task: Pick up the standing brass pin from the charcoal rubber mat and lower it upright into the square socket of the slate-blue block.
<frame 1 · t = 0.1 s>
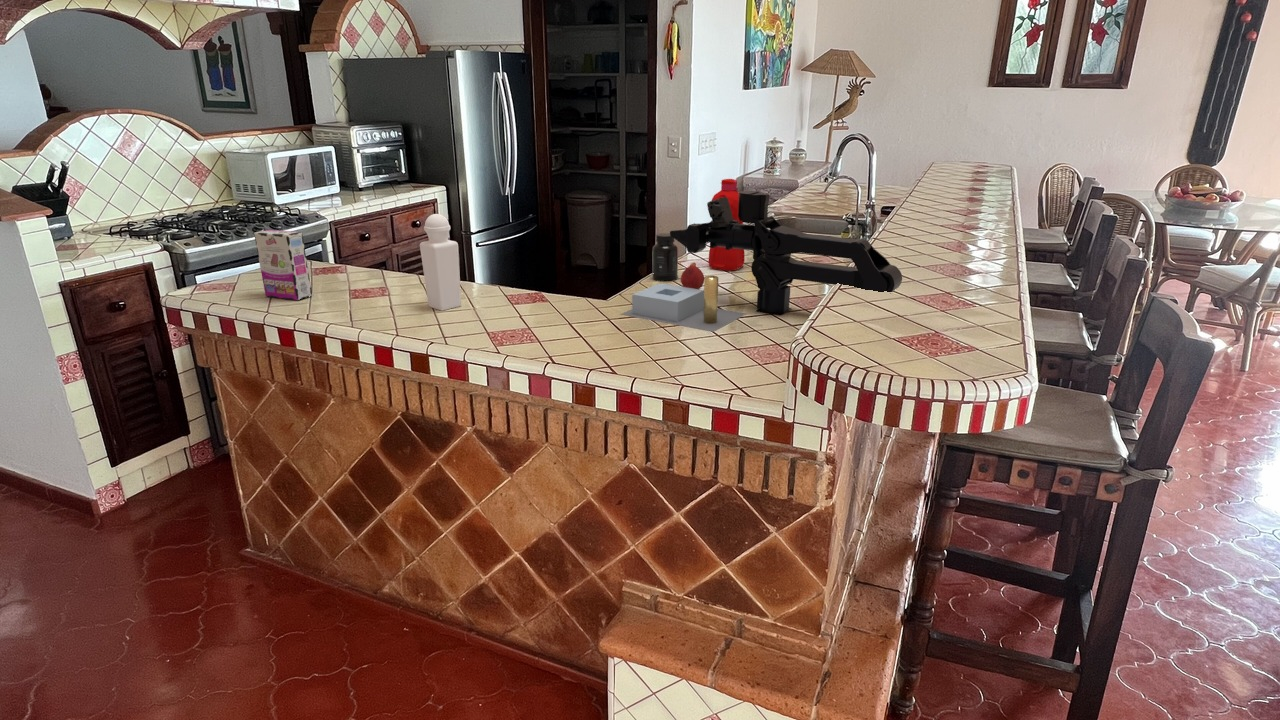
hand: (680, 230, 179), 17 cm above the countertop, tool horizontal, fingers open, 9 cm apart
candy bar box: (289, 297, 187), on the countertop
onion: (692, 294, 187), on the countertop
square decanter bottle: (445, 307, 178), on the countertop
brass pin: (710, 321, 163), on the countertop, touching rubber mat
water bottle: (728, 268, 213), on the countertop
rubber mat: (683, 315, 169), on the countertop
supplement bottle: (664, 279, 202), on the countertop
socket block: (668, 311, 171), on the countertop
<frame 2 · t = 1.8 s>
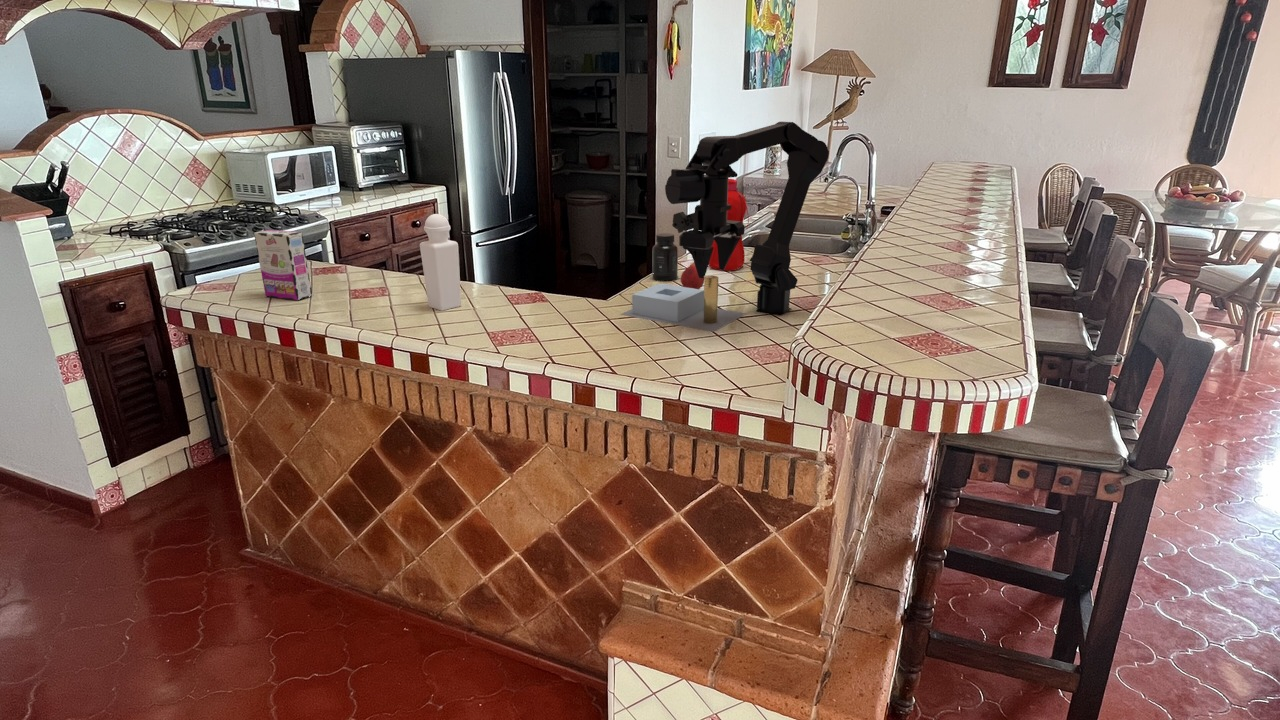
hand: (711, 273, 160), 11 cm above the countertop, tool pointing down, fingers open, 9 cm apart
nothing on the countertop moved.
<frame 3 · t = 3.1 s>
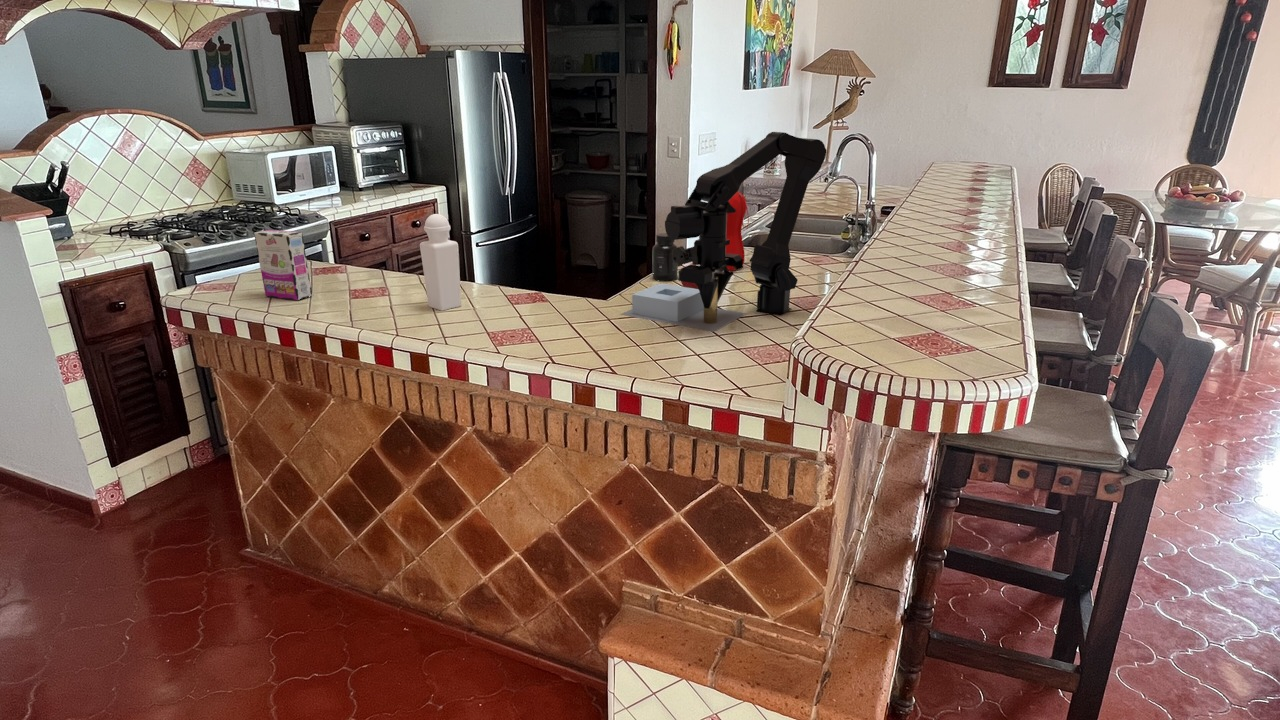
hand: (710, 306, 162), 4 cm above the countertop, tool pointing down, fingers closed on brass pin, 3 cm apart
brass pin: (710, 321, 163), point 1 cm above the countertop, touching gripper, rubber mat
everything else where it was.
when the fingers open (6 cm above the countertop, at t = 7.1 s): brass pin stays where it is, resting on socket block.
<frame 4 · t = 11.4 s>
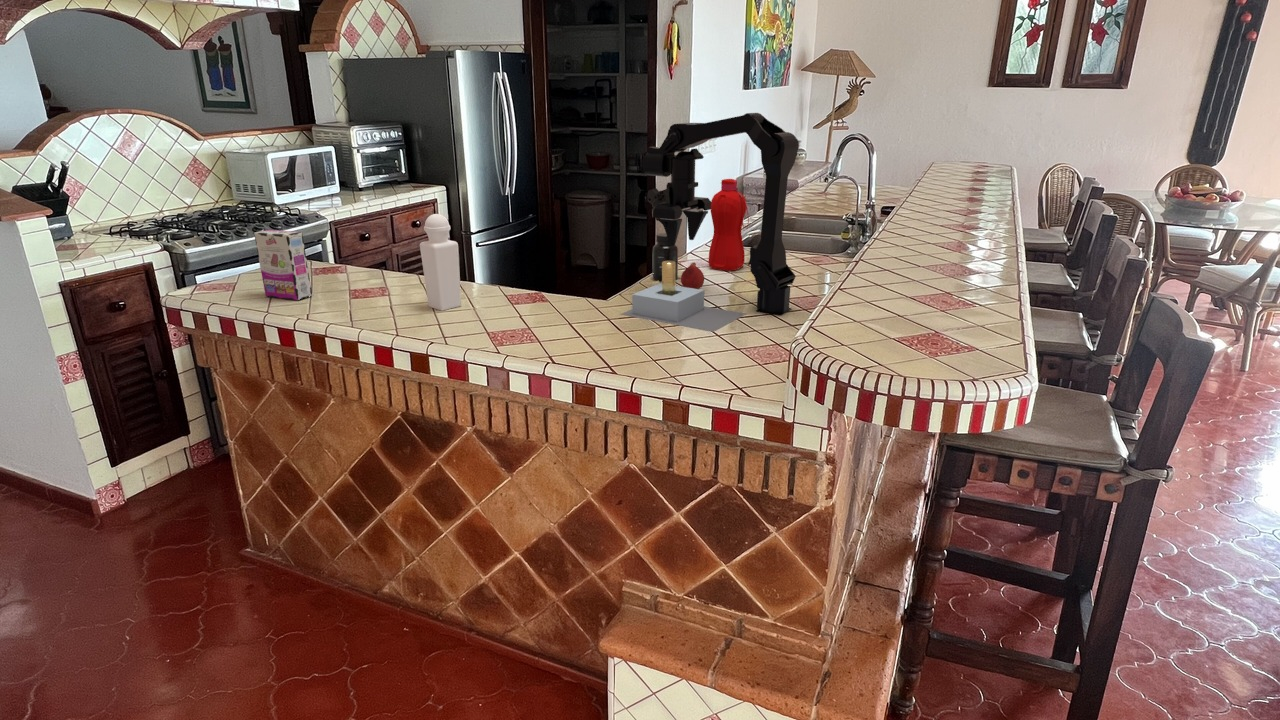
hand: (681, 243, 182), 13 cm above the countertop, tool pointing down, fingers open, 9 cm apart
brass pin: (668, 304, 171), point 2 cm above the countertop, touching socket block
everything else where it was.
at the end: brass pin 0.0 cm off-centre on the socket block, point 1.5 cm above the socket block's base; brass pin tilted 1°; the gripper is holding nothing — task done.
